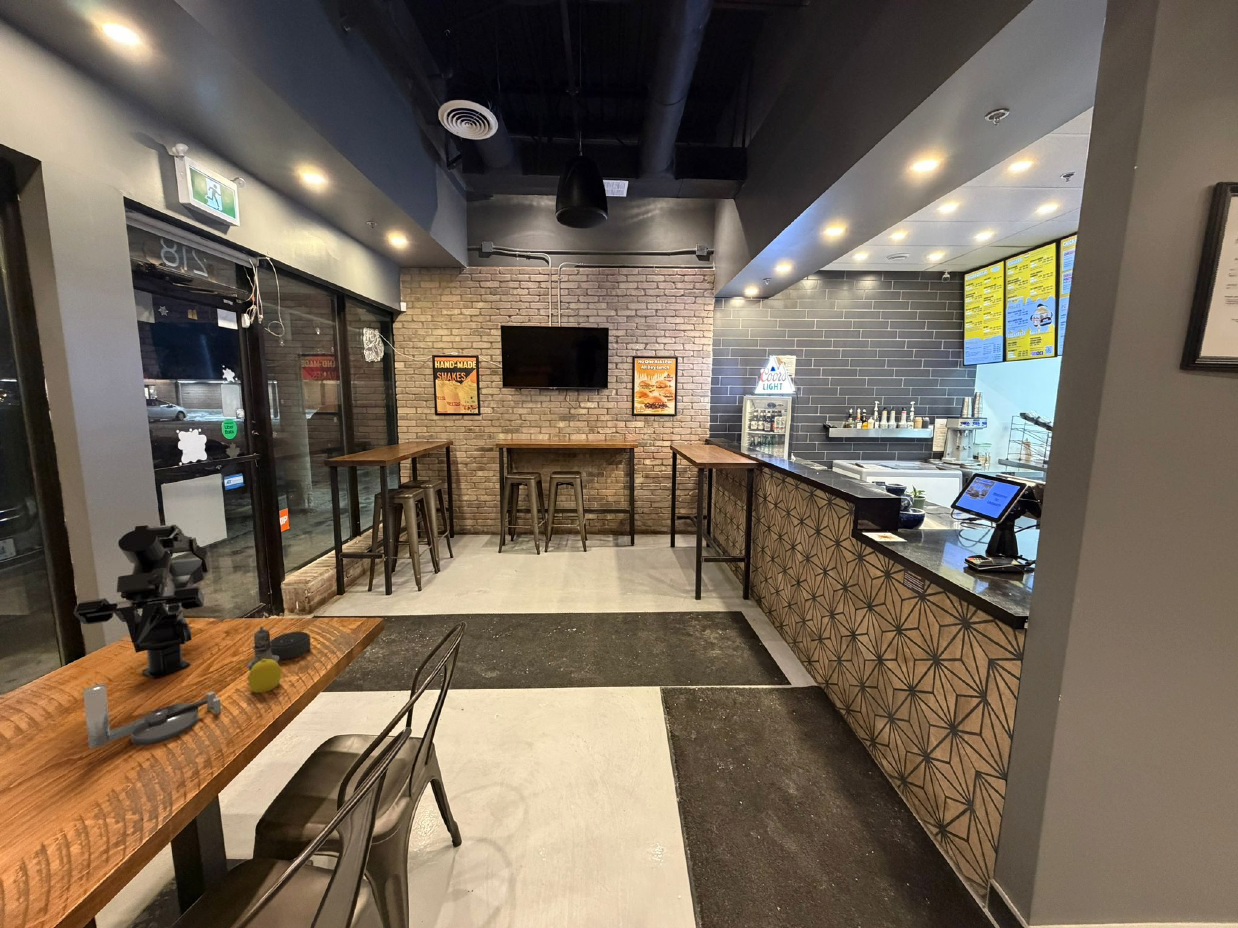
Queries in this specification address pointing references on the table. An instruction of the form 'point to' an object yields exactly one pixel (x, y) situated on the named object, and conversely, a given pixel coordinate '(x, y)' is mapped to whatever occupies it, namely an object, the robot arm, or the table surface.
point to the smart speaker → (290, 645)
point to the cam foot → (142, 731)
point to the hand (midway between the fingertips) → (135, 642)
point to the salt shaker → (262, 647)
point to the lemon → (264, 676)
